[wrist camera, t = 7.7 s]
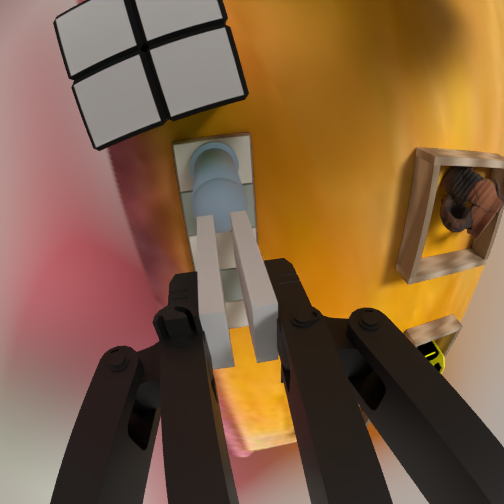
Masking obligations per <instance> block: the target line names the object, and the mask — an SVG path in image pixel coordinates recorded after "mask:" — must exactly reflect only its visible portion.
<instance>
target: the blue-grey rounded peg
mask: <svg viewBox="0 0 504 504" xmlns="http://www.w3.org/2000/svg"><path fill="white" fill-rule="evenodd" d="M238 170H239V162H238V158H237V156H236V154H235V152H234V150H233V149H232V148H231V147H230V146H228V145H227V144H225V143H223V142H219V141H210V142H206V143H204V144H202V145H200V146H199V147H198V148H197V149H196V150H195V151H194V153H193V154H192V157H191V161H190V173H191V176H192V178H193V192H192V212H193V215H194V217H195V219H196V221H197V217H200V216H207V215H213V220H214V227H215V233H224V232H228V231H231V230H232V229H231V220H230V212H236V211H244V210H246V213H247V208H248V202H247V197H246V194H245V191H244V188H243V186H242V183H241V180H240V177H239V175H238Z"/></svg>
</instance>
